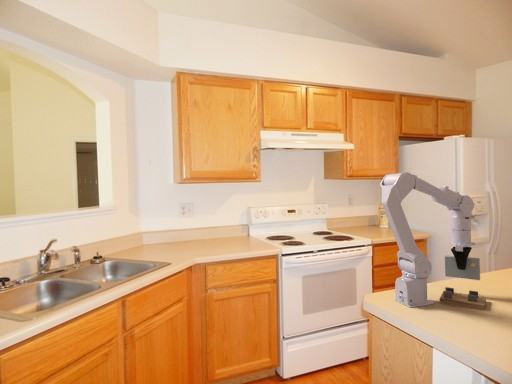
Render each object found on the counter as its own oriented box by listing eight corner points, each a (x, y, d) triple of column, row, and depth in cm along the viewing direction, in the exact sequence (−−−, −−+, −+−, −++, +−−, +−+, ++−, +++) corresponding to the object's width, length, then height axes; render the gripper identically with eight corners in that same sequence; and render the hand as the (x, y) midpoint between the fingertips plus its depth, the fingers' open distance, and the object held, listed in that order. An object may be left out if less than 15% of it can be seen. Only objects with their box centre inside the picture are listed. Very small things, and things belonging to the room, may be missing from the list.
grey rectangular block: (479, 280, 106) (479, 260, 106) (445, 276, 112) (444, 257, 112) (480, 278, 108) (479, 258, 108) (446, 274, 114) (445, 255, 114)
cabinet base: (484, 310, 97) (484, 305, 97) (439, 302, 104) (439, 298, 104) (485, 301, 104) (485, 296, 104) (443, 295, 111) (443, 290, 111)
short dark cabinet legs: (477, 302, 100) (476, 296, 100) (443, 297, 105) (443, 291, 105) (478, 297, 104) (478, 291, 104) (445, 292, 109) (445, 287, 109)
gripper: (473, 232, 102) (474, 274, 102) (476, 227, 113) (477, 265, 113) (447, 231, 106) (449, 271, 106) (453, 226, 118) (454, 263, 118)
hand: (462, 268), depth 110 cm, fingers closed on grey rectangular block, 2 cm apart
